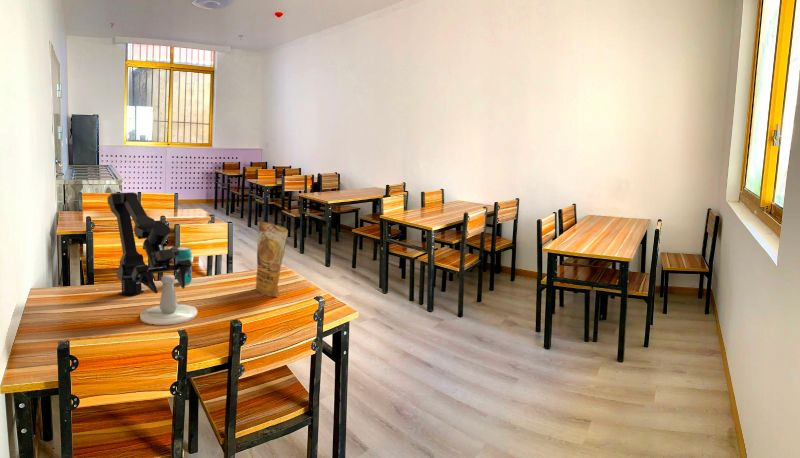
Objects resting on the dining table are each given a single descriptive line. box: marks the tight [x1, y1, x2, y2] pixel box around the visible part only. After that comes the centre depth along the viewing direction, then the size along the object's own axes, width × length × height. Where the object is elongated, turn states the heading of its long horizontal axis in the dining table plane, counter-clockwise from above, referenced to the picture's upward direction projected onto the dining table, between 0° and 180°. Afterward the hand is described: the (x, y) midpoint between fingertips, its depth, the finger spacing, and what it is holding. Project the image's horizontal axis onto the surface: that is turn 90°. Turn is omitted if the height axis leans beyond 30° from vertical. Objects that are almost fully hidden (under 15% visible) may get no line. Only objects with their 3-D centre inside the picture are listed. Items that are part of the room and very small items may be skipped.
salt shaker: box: [159, 273, 178, 314], centre depth 180 cm, size 6×6×13 cm
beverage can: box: [175, 246, 193, 286], centre depth 218 cm, size 6×6×15 cm
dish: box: [139, 304, 198, 326], centre depth 181 cm, size 18×18×1 cm
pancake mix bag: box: [255, 221, 289, 298], centre depth 211 cm, size 7×19×28 cm, turn 44°
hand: (170, 290), depth 179 cm, fingers open, 9 cm apart
